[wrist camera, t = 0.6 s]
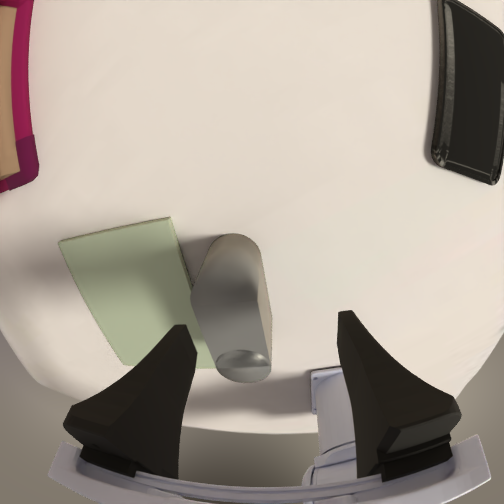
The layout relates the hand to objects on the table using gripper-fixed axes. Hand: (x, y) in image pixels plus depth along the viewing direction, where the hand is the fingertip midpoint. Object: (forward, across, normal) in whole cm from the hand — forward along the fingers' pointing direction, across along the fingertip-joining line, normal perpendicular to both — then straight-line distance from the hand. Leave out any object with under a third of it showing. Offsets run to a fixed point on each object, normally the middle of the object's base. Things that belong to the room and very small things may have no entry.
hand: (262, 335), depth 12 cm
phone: (+9, -18, -12) cm, 24 cm away
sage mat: (+9, +12, +4) cm, 16 cm away
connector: (+9, +2, +5) cm, 10 cm away
